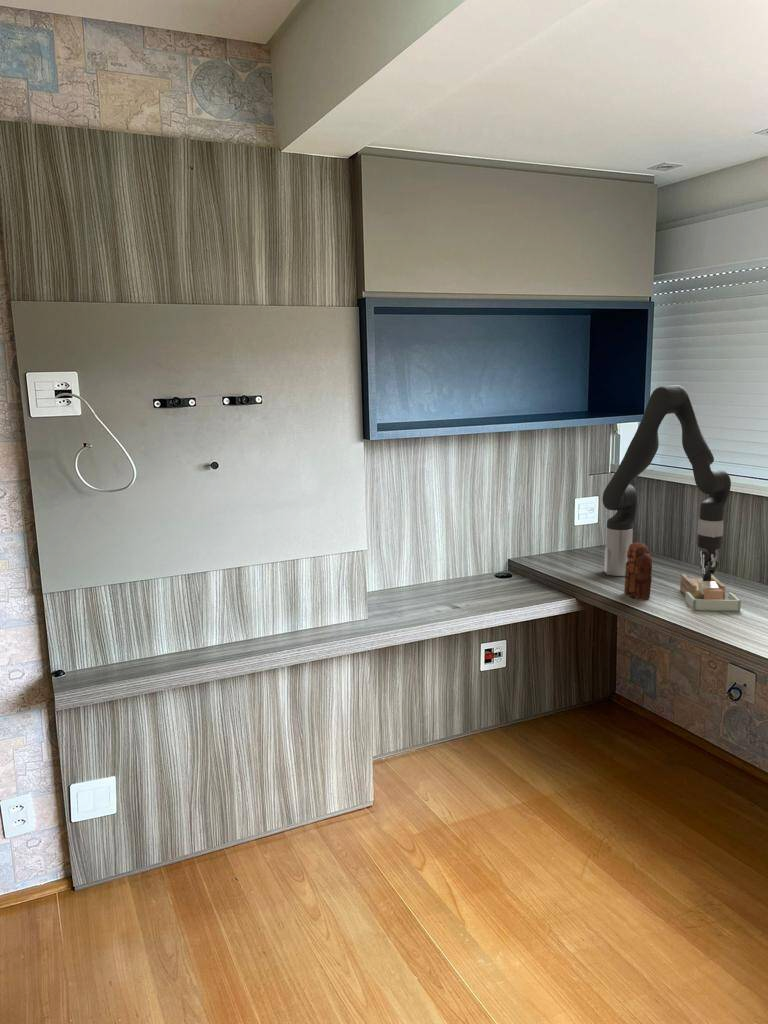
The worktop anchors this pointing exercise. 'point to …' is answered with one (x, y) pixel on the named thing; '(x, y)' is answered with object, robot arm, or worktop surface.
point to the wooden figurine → (638, 571)
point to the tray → (713, 604)
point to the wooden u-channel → (692, 586)
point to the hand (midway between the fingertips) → (706, 584)
